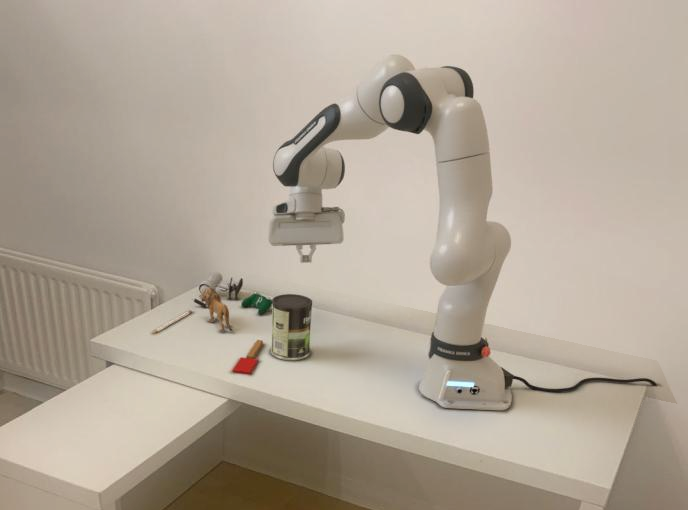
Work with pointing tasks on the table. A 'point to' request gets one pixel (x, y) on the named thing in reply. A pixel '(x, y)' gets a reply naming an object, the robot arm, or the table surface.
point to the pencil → (172, 321)
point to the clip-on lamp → (215, 282)
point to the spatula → (248, 360)
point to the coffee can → (291, 326)
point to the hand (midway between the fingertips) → (306, 262)
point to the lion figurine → (216, 307)
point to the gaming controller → (258, 302)
